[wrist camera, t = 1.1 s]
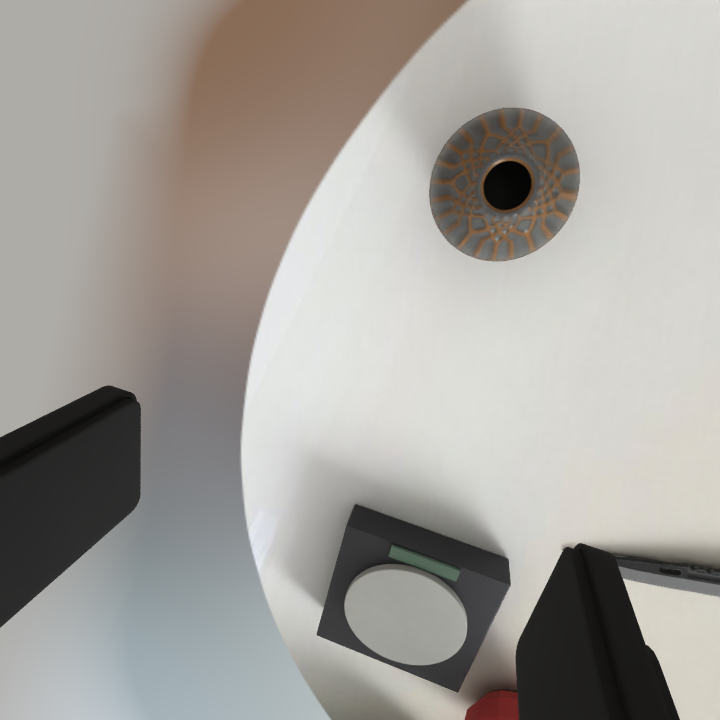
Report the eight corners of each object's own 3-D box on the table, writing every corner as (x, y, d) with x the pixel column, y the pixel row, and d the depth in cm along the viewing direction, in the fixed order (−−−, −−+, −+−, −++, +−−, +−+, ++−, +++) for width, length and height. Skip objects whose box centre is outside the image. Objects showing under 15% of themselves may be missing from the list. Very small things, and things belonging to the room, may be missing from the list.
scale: (355, 503, 35) (344, 530, 32) (508, 558, 33) (511, 591, 30) (325, 610, 39) (313, 642, 36) (459, 663, 38) (457, 701, 35)
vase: (444, 119, 25) (428, 81, 17) (577, 124, 23) (629, 84, 15) (429, 247, 27) (409, 266, 19) (549, 258, 26) (581, 284, 18)
